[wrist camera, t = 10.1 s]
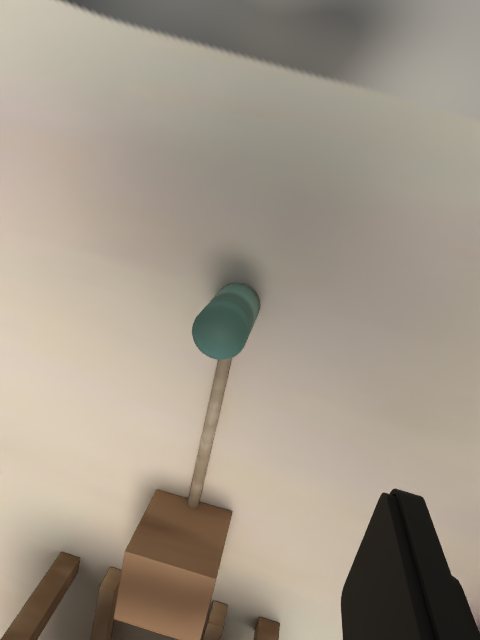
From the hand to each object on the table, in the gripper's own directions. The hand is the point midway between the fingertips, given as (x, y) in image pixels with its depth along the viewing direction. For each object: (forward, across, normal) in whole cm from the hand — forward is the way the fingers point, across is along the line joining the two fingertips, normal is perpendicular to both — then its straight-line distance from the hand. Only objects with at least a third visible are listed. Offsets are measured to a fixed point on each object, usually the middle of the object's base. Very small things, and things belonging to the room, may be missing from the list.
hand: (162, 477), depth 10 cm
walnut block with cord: (+15, +1, +8) cm, 17 cm away
